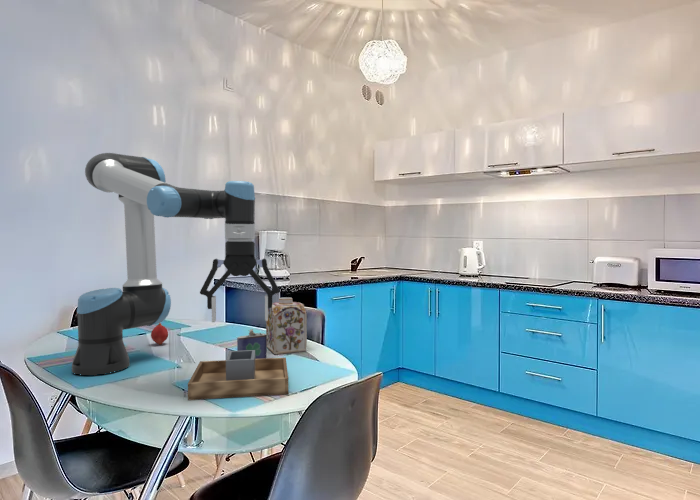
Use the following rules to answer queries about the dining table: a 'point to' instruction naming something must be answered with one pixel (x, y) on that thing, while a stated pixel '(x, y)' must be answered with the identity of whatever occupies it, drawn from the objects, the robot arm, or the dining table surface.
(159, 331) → the onion
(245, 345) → the flask
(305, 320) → the decorative jar
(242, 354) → the small crate
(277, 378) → the tray
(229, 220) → the robot arm
